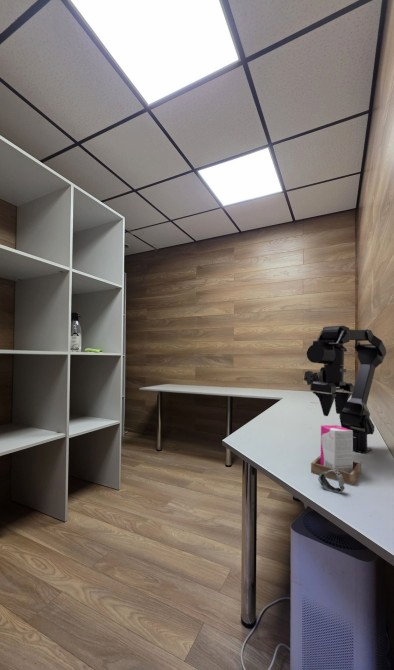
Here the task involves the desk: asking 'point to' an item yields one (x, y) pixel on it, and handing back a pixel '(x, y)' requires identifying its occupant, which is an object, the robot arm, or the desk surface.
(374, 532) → the desk surface
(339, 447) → the supplement box
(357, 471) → the square wooden tray
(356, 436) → the robot arm
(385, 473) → the desk surface
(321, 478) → the wristwatch
